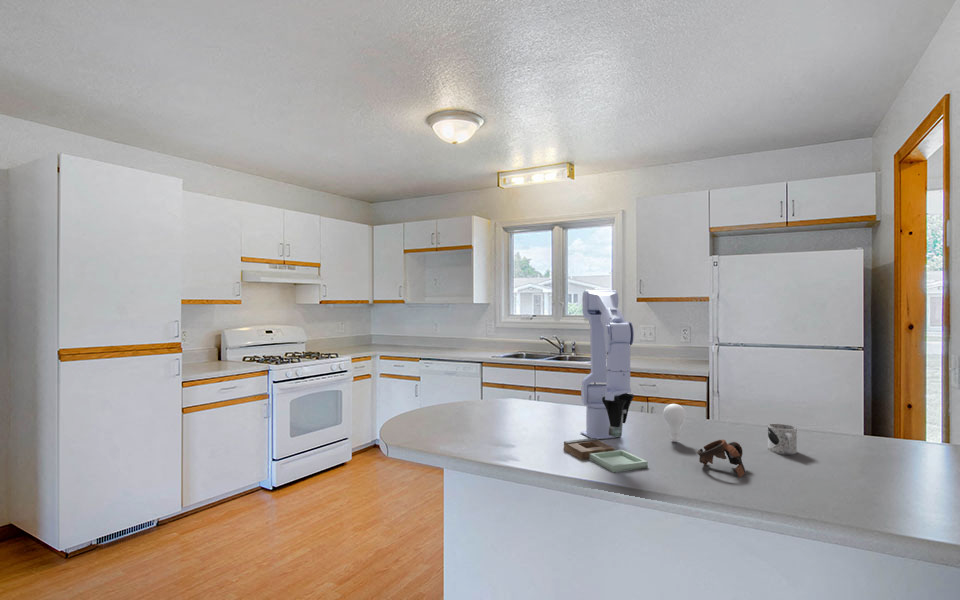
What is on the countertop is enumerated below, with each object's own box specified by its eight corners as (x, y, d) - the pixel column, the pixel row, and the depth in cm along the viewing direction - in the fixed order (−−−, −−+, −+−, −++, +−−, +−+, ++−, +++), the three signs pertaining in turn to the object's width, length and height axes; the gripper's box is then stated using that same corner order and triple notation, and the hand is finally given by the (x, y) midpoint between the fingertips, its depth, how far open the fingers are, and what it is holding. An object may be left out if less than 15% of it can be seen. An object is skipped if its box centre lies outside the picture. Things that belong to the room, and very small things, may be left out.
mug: (764, 446, 137) (764, 422, 137) (790, 448, 136) (790, 424, 136) (778, 457, 127) (778, 432, 127) (806, 459, 126) (806, 433, 126)
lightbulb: (662, 443, 139) (663, 405, 139) (663, 438, 145) (663, 401, 145) (686, 446, 137) (686, 407, 137) (685, 440, 143) (685, 402, 143)
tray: (622, 455, 128) (622, 449, 128) (647, 467, 119) (647, 461, 119) (589, 459, 125) (589, 453, 125) (613, 472, 116) (613, 466, 116)
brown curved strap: (737, 483, 110) (717, 449, 112) (704, 489, 118) (686, 457, 120) (761, 460, 117) (742, 428, 119) (729, 466, 125) (711, 437, 127)
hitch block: (594, 445, 137) (594, 437, 137) (614, 455, 128) (614, 446, 128) (563, 449, 133) (563, 441, 133) (581, 459, 125) (581, 450, 125)
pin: (613, 430, 126) (615, 405, 125) (627, 436, 122) (630, 409, 122) (602, 433, 123) (604, 407, 123) (616, 439, 120) (618, 412, 119)
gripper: (611, 365, 130) (611, 416, 130) (592, 372, 118) (592, 428, 118) (638, 368, 126) (638, 420, 126) (621, 375, 114) (621, 432, 114)
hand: (618, 424), depth 122 cm, fingers closed on pin, 4 cm apart
